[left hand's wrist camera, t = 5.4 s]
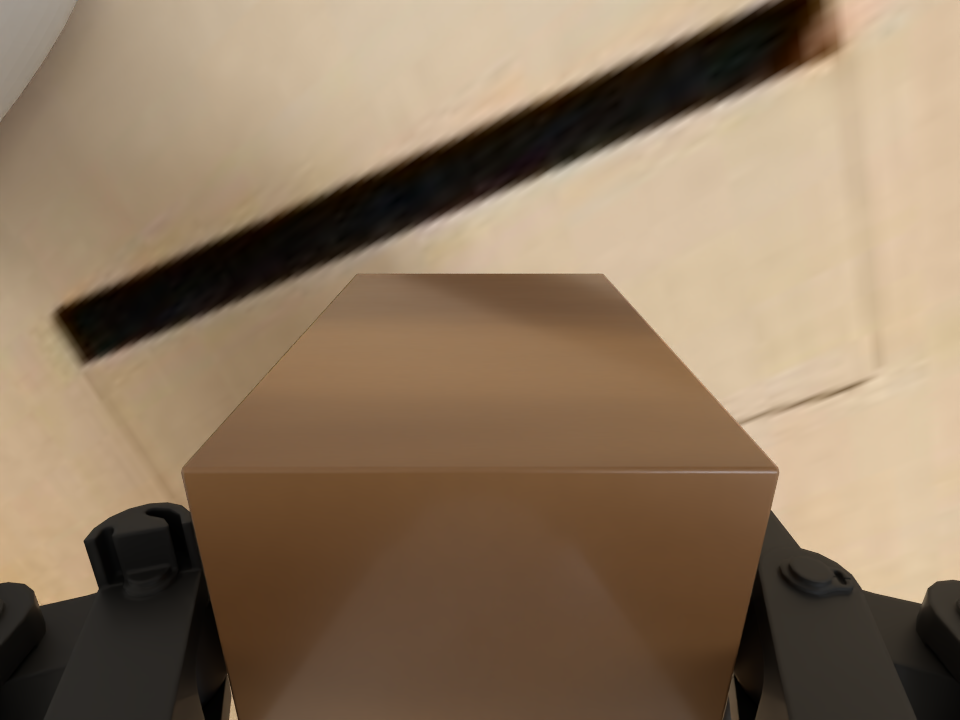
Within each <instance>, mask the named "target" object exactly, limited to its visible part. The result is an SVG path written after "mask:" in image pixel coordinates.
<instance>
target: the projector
mask: <svg viewBox="0 0 960 720" xmlns="http://www.w3.org/2000/svg"><path fill="white" fill-rule="evenodd" d="M76 2H77V0H0V121H1V120H2V119H3V117H4V116H5V115H6V113H7V112H8V111H9V109H10V108H11V107H12V105H13V104H14V103H15V101H16V100H17V99H18V98H19V96H20V95H21V94H22V92H23V91H24V89H25V88H26V86H27V85H28V83H29V82H30V80H31V79H32V77H33V76H34V75H35V73H36V72H37V70H38V69H39V67H40V66H41V64H42V63H43V61H44V60H45V58H46V57H47V55H48V53H49V52H50V50H51V48H52V47H53V45H54V43H55V42H56V40H57V38H58V37H59V35H60V33H61V32H62V30H63V28H64V27H65V25H66V23H67V21H68V19H69V17H70V15H71V13H72V10H73V8H74V6H75V4H76Z"/></svg>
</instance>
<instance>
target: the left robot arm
mask: <svg viewBox="0 0 960 720" xmlns="http://www.w3.org/2000/svg"><path fill="white" fill-rule="evenodd" d="M84 544H85V547H86V550H87V553H88V556H89V559H90V562H91V565H92V569H93V572H94V575H95V578H96V581H97V584H98V587H99V590H98V592H97V593H94V594H91V595H87V596H83V597H78V598H74V599H69V600H65V601H60V602H56V603H52V604H47V605H43V606H39V604H38V601H37V599H36V596H35V593H34V591H33V590H32V589H31V588H29V587H28V586H27V585H25V584H20V583H11V582H7V583H0V720H229V714H230V705H231V690H230V683H229V679H228V675H227V669H226V665H225V660H224V656H223V652H222V647H221V643H220V639H219V634H218V630H217V626H216V621H215V617H214V613H213V608H212V604H211V600H210V595H209V591H208V587H207V582H206V578H205V573H204V569H203V565H202V560H201V556H200V552H199V547H198V543H197V539H196V534H195V530H194V526H193V521H192V517H191V513H190V512H189V511H188V510H187V509H186V508H184V507H183V506H182V505H177V504H173V503H168V502H167V503H151V504H146V505H142V506H138V507H134V508H130V509H128V510H125V511H123V512H121V513H119V514H116V515H114V516H112V517H110V518H108V519H107V520H105V521H104V522H102V523H101V524H100V525H98V526H97V527H95V528H94V529H93V530H92V531H91V532H90V534H89V535H88V536H87V537H86V539H85V540H84ZM722 720H960V581H957V580H947V581H938V582H936V583H934V584H933V585H932V586H930V587H929V588H928V589H927V592H926V595H925V597H924V600H923V603H922V604H920V603H915V602H911V601H906V600H902V599H897V598H893V597H888V596H884V595H879V594H875V593H871V592H868V591H864V590H862V589H861V587H860V586H859V584H858V583H857V581H856V580H855V578H854V577H853V576H852V574H850V573H849V572H848V571H847V570H845V569H844V568H843V567H842V566H840V565H839V564H838V563H836V562H834V561H832V560H830V559H828V558H826V557H825V556H823V555H821V554H819V553H815V552H812V551H808V550H805V549H801V548H800V547H799V545H798V544H797V543H796V541H795V540H794V539H793V538H792V536H791V535H790V534H789V533H788V531H787V530H786V529H785V527H784V526H783V525H782V524H781V522H780V521H779V520H778V518H777V517H776V516H775V515H774V513H773V512H772V511H771V510H770V515H769V519H768V524H767V528H766V532H765V537H764V541H763V545H762V550H761V554H760V558H759V563H758V567H757V571H756V576H755V580H754V584H753V589H752V593H751V597H750V602H749V606H748V611H747V615H746V619H745V624H744V628H743V632H742V637H741V641H740V645H739V650H738V654H737V658H736V663H735V667H734V671H733V676H732V680H731V684H730V689H729V693H728V697H727V702H726V706H725V711H724V715H723V719H722Z"/></svg>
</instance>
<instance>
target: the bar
mask: <svg viewBox="0 0 960 720" xmlns="http://www.w3.org/2000/svg"><path fill="white" fill-rule="evenodd" d="M181 474H182V478H183V482H184V487H185V491H186V495H187V500H188V504H189V508H190V513H191V517H192V521H193V526H194V530H195V534H196V539H197V543H198V547H199V552H200V556H201V560H202V565H203V569H204V573H205V578H206V582H207V587H208V591H209V595H210V600H211V604H212V608H213V613H214V617H215V621H216V626H217V630H218V634H219V639H220V643H221V647H222V652H223V656H224V660H225V665H226V669H227V673H228V678H229V682H230V686H231V691H232V695H233V699H234V704H235V708H236V713H237V717H238V720H722V719H723V715H724V711H725V706H726V702H727V697H728V693H729V689H730V684H731V680H732V676H733V671H734V667H735V663H736V658H737V654H738V650H739V645H740V641H741V637H742V632H743V628H744V624H745V619H746V615H747V611H748V606H749V602H750V597H751V593H752V589H753V584H754V580H755V576H756V571H757V567H758V563H759V558H760V554H761V550H762V545H763V541H764V537H765V532H766V528H767V524H768V519H769V515H770V510H771V506H772V502H773V497H774V493H775V489H776V484H777V480H778V476H779V469H778V467H777V466H776V465H775V464H774V463H773V461H772V460H771V459H770V458H769V457H768V456H767V455H766V454H765V453H764V451H763V450H762V449H761V448H760V447H759V446H758V445H757V444H756V443H755V441H754V440H753V439H752V438H751V437H750V436H749V435H748V434H747V433H746V432H745V430H744V429H743V428H742V427H741V426H740V425H739V424H738V423H737V422H736V420H735V419H734V418H733V417H732V416H731V415H730V414H729V413H728V412H727V410H726V409H725V408H724V407H723V406H722V405H721V404H720V403H719V402H718V401H717V399H716V398H715V397H714V396H713V395H712V394H711V393H710V392H709V391H708V389H707V388H706V387H705V386H704V385H703V384H702V383H701V382H700V381H699V379H698V378H697V377H696V376H695V375H694V374H693V373H692V372H691V371H690V370H689V368H688V367H687V366H686V365H685V364H684V363H683V362H682V361H681V360H680V358H679V357H678V356H677V355H676V354H675V353H674V352H673V351H672V350H671V348H670V347H669V346H668V345H667V344H666V343H665V342H664V341H663V340H662V338H661V337H660V336H659V335H658V334H657V333H656V332H655V331H654V330H653V329H652V327H651V326H650V325H649V324H648V323H647V322H646V321H645V320H644V319H643V317H642V316H641V315H640V314H639V313H638V312H637V311H636V310H635V309H634V307H633V306H632V305H631V304H630V303H629V302H628V301H627V300H626V299H625V298H624V296H623V295H622V294H621V293H620V292H619V291H618V290H617V289H616V288H615V286H614V285H613V284H612V283H611V282H610V281H609V280H608V279H607V278H606V276H605V275H604V274H357V275H356V276H355V277H354V278H353V279H352V280H351V281H350V282H349V284H348V285H347V286H346V287H345V288H344V289H343V290H342V291H341V292H340V293H339V295H338V296H337V297H336V298H335V299H334V300H333V301H332V302H331V303H330V305H329V306H328V307H327V308H326V309H325V310H324V311H323V312H322V313H321V315H320V316H319V317H318V318H317V319H316V320H315V321H314V322H313V323H312V325H311V326H310V327H309V328H308V329H307V330H306V331H305V332H304V333H303V335H302V336H301V337H300V338H299V339H298V340H297V341H296V342H295V343H294V345H293V346H292V347H291V348H290V349H289V350H288V351H287V352H286V353H285V354H284V356H283V357H282V358H281V359H280V360H279V361H278V362H277V363H276V364H275V366H274V367H273V368H272V369H271V370H270V371H269V372H268V373H267V374H266V376H265V377H264V378H263V379H262V380H261V381H260V382H259V383H258V384H257V386H256V387H255V388H254V389H253V390H252V391H251V392H250V393H249V394H248V396H247V397H246V398H245V399H244V400H243V401H242V402H241V403H240V404H239V406H238V407H237V408H236V409H235V410H234V411H233V412H232V413H231V414H230V415H229V417H228V418H227V419H226V420H225V421H224V422H223V423H222V424H221V425H220V427H219V428H218V429H217V430H216V431H215V432H214V433H213V434H212V435H211V437H210V438H209V439H208V440H207V441H206V442H205V443H204V444H203V445H202V447H201V448H200V449H199V450H198V451H197V452H196V453H195V454H194V455H193V457H192V458H191V459H190V460H189V461H188V462H187V463H186V464H185V465H184V466H183V468H182V472H181Z"/></svg>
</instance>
